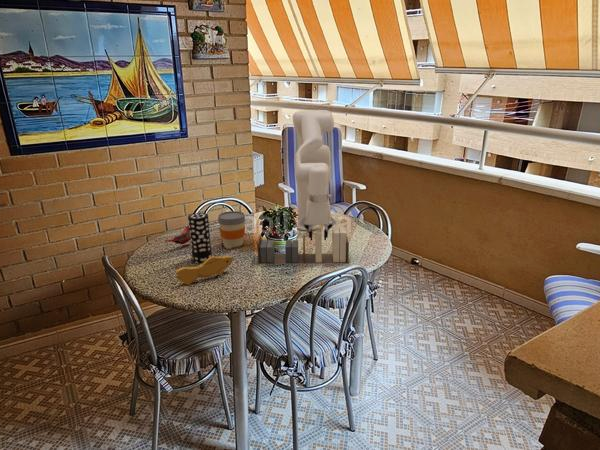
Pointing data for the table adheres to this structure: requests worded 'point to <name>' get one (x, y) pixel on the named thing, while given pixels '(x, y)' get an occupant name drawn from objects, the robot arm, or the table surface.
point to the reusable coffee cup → (232, 228)
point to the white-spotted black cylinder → (200, 237)
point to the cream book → (318, 244)
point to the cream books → (339, 244)
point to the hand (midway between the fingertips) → (318, 238)
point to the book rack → (303, 256)
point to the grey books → (268, 251)
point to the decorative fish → (204, 269)
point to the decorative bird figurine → (181, 237)
